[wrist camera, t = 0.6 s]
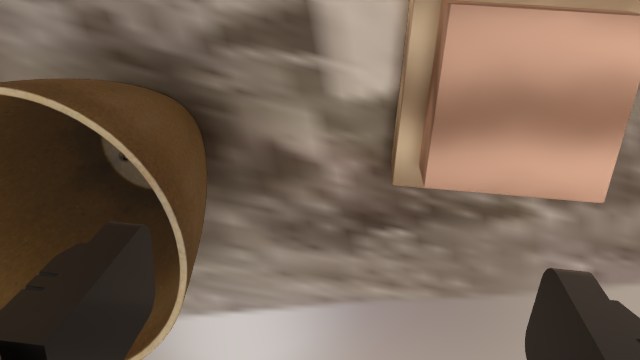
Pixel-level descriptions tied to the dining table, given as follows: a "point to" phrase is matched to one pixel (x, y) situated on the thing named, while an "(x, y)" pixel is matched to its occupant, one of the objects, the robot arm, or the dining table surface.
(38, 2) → the dining table surface
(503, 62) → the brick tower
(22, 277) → the plant pot
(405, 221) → the dining table surface
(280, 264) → the dining table surface
